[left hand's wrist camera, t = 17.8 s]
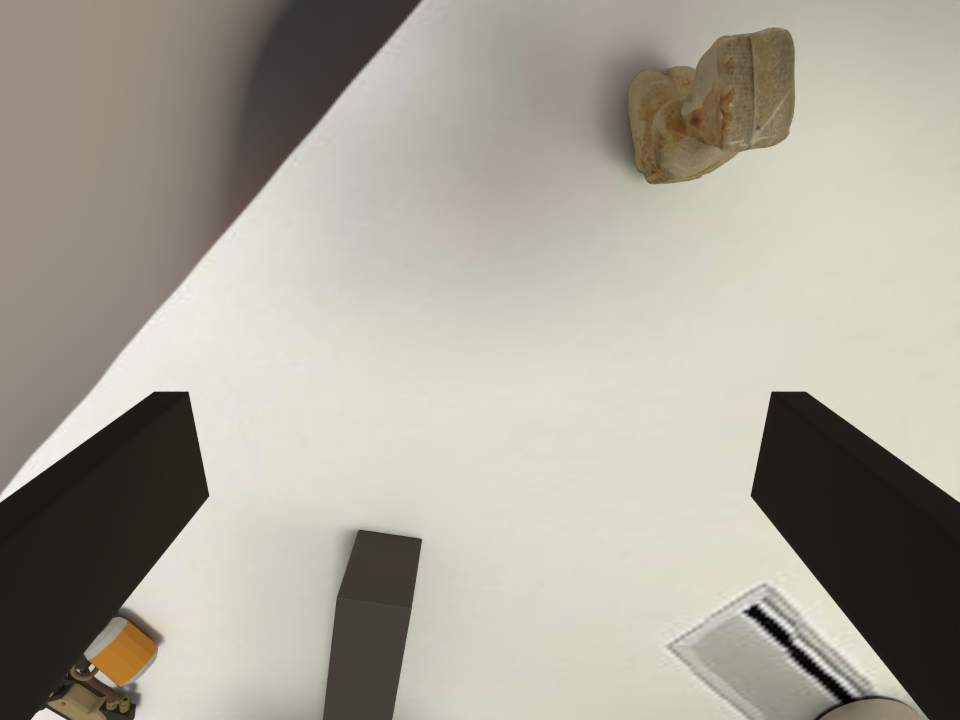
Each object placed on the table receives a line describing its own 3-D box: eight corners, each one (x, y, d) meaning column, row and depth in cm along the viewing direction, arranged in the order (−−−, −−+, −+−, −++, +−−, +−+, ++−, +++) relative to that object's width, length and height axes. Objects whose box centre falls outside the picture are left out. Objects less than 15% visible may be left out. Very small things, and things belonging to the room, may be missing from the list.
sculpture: (702, 66, 37) (837, 11, 23) (696, 178, 40) (815, 189, 26) (615, 74, 37) (698, 24, 23) (615, 184, 40) (689, 200, 26)
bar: (358, 529, 50) (336, 597, 43) (422, 539, 51) (411, 608, 43) (333, 737, 60) (311, 824, 52) (386, 744, 60) (372, 831, 53)
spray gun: (132, 721, 60) (-2, 659, 57) (189, 632, 54) (43, 559, 52) (105, 763, 56) (-40, 698, 53) (163, 670, 50) (4, 593, 48)
